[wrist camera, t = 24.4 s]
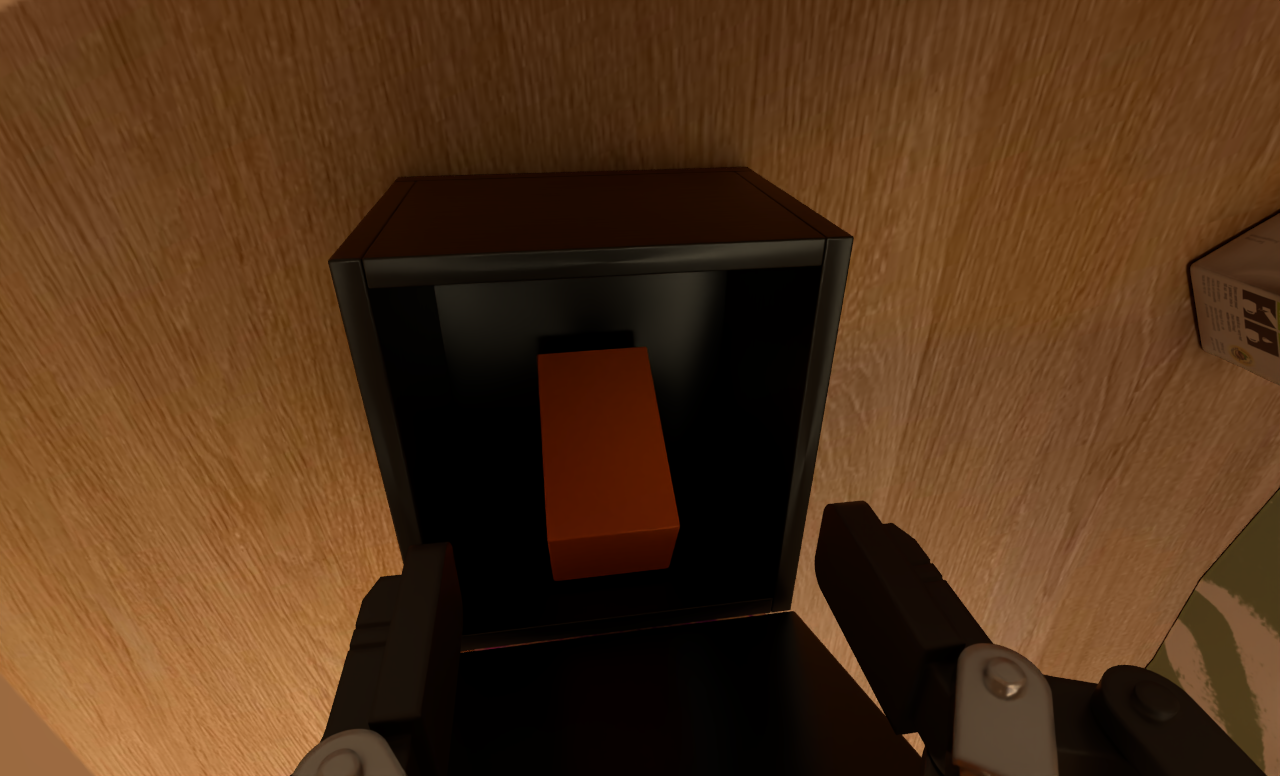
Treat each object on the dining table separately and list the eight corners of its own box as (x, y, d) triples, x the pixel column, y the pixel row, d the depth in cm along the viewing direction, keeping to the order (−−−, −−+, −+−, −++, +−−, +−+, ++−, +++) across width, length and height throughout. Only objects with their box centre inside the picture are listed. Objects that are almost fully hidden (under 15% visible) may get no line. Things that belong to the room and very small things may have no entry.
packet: (547, 541, 21) (553, 582, 24) (680, 526, 22) (669, 568, 25) (536, 353, 26) (542, 408, 29) (647, 345, 26) (640, 400, 29)
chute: (397, 177, 24) (326, 260, 15) (747, 166, 26) (855, 236, 17) (453, 485, 31) (426, 656, 23) (723, 460, 33) (790, 610, 25)
